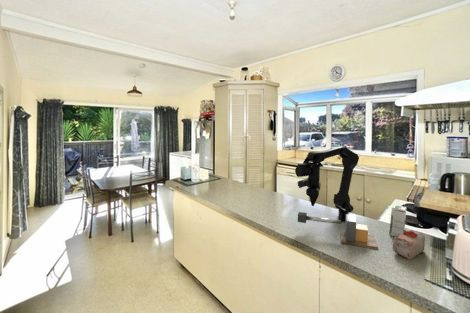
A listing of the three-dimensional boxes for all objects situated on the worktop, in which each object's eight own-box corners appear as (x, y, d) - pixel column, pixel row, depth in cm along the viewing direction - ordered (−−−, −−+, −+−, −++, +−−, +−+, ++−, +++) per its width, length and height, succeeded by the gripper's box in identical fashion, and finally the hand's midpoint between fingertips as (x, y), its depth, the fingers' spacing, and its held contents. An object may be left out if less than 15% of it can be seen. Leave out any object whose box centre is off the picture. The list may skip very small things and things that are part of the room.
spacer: (354, 235, 118) (354, 223, 117) (365, 237, 116) (366, 225, 115) (355, 240, 113) (356, 228, 112) (367, 242, 111) (368, 230, 110)
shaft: (298, 219, 127) (298, 211, 126) (341, 224, 119) (341, 216, 118) (297, 222, 123) (297, 214, 122) (341, 227, 115) (341, 219, 115)
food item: (411, 262, 96) (413, 239, 95) (390, 253, 103) (392, 231, 102) (426, 252, 104) (428, 230, 102) (405, 244, 110) (406, 224, 109)
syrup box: (390, 231, 124) (392, 204, 122) (404, 234, 120) (406, 206, 118) (389, 235, 119) (391, 207, 118) (403, 238, 116) (405, 210, 114)
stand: (340, 232, 123) (341, 212, 122) (373, 237, 118) (375, 216, 116) (341, 243, 112) (342, 221, 111) (378, 249, 107) (379, 225, 105)
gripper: (300, 171, 140) (300, 197, 142) (296, 177, 123) (295, 207, 125) (321, 172, 136) (320, 198, 138) (319, 179, 119) (318, 209, 121)
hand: (313, 203), depth 130 cm, fingers open, 9 cm apart
